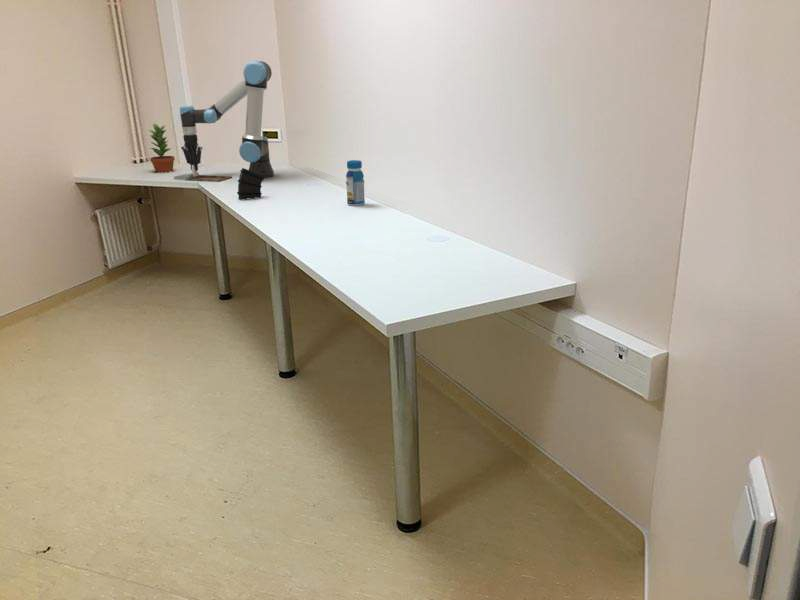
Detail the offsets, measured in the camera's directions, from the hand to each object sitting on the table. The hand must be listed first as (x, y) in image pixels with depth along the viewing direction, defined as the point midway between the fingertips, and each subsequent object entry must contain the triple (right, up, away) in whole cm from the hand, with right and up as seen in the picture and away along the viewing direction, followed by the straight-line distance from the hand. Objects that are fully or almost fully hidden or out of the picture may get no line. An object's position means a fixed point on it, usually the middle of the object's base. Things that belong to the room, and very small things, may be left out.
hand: (195, 175), depth 361 cm
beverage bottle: (+99, -28, -70) cm, 124 cm away
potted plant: (-31, +10, +35) cm, 47 cm away
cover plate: (-6, -1, +3) cm, 6 cm away
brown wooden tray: (+8, -3, -2) cm, 9 cm away
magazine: (+45, -21, -51) cm, 71 cm away
